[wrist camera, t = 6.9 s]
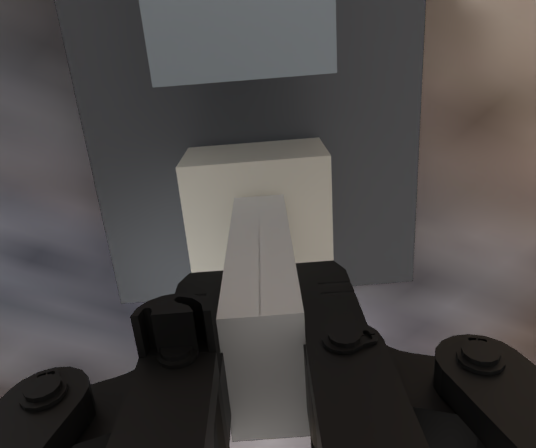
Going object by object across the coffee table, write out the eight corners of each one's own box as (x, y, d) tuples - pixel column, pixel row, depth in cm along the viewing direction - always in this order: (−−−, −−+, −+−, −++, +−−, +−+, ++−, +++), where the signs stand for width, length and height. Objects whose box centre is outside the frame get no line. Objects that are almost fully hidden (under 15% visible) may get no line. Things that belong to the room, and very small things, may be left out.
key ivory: (209, 243, 20) (195, 302, 15) (195, 136, 18) (175, 167, 14) (316, 234, 20) (334, 291, 15) (312, 127, 18) (331, 155, 14)
